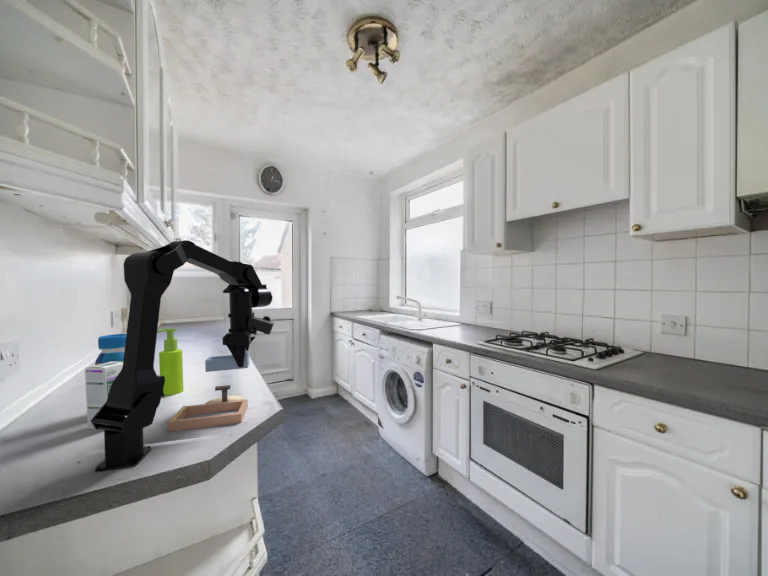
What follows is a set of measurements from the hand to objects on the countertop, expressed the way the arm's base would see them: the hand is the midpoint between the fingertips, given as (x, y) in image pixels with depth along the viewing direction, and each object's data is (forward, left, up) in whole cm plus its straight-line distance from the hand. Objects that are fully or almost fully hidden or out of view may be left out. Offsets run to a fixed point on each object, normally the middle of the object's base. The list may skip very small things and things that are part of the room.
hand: (242, 365), depth 90 cm
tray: (-11, +6, -10) cm, 16 cm away
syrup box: (-6, +29, -11) cm, 31 cm away
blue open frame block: (0, +4, 0) cm, 4 cm away
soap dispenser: (+14, +23, -11) cm, 29 cm away
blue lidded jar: (+4, +32, -11) cm, 34 cm away
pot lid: (0, +5, -10) cm, 11 cm away
